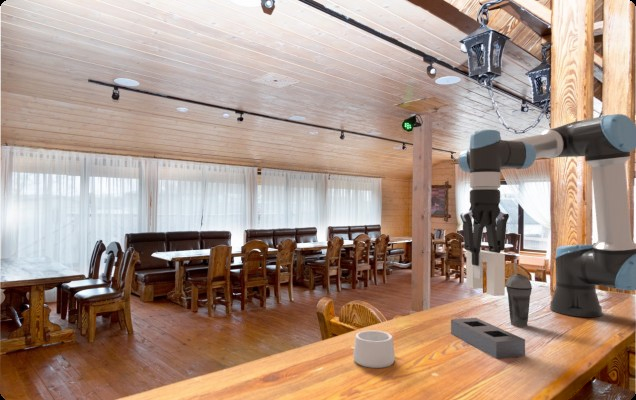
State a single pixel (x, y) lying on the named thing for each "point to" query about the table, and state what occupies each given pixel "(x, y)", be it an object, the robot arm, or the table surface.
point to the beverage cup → (518, 298)
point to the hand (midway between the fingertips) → (484, 277)
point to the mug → (374, 349)
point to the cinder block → (488, 338)
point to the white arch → (488, 273)
